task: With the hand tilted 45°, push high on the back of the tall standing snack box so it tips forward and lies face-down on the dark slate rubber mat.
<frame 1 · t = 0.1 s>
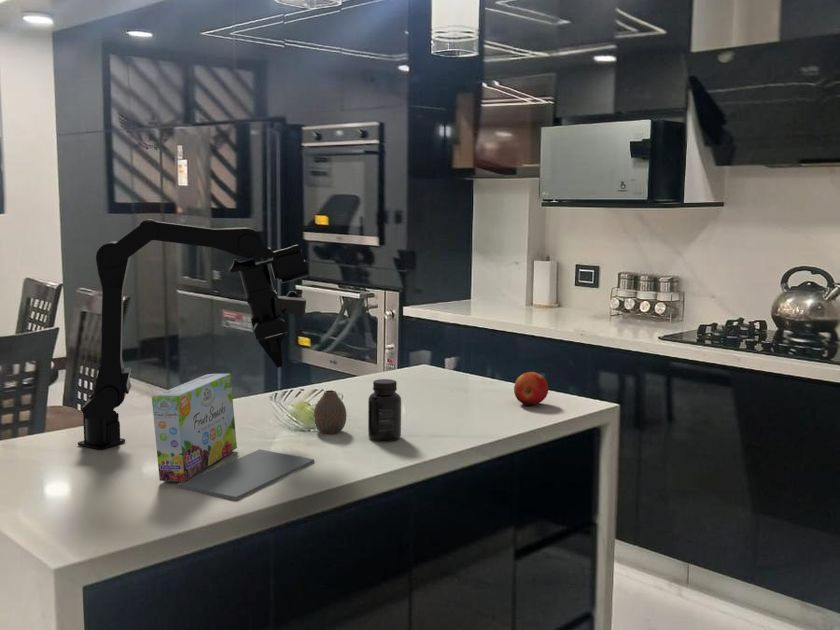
hand: (278, 362, 172), 15 cm above the counter, tool pointing down, fingers open, 9 cm apart
apple: (529, 405, 206), on the counter
vase: (329, 433, 178), on the counter
supplement bottle: (384, 438, 175), on the counter
mat: (248, 474, 150), on the counter
snack box: (201, 465, 154), on the counter, touching mat
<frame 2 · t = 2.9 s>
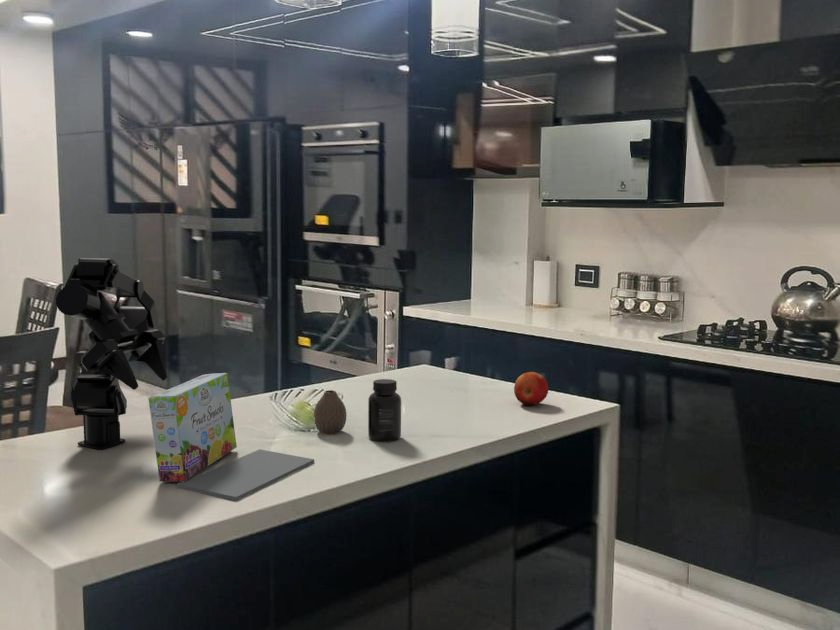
hand: (151, 383, 159), 14 cm above the counter, tool tilted 45°, fingers open, 9 cm apart
nothing on the counter moved.
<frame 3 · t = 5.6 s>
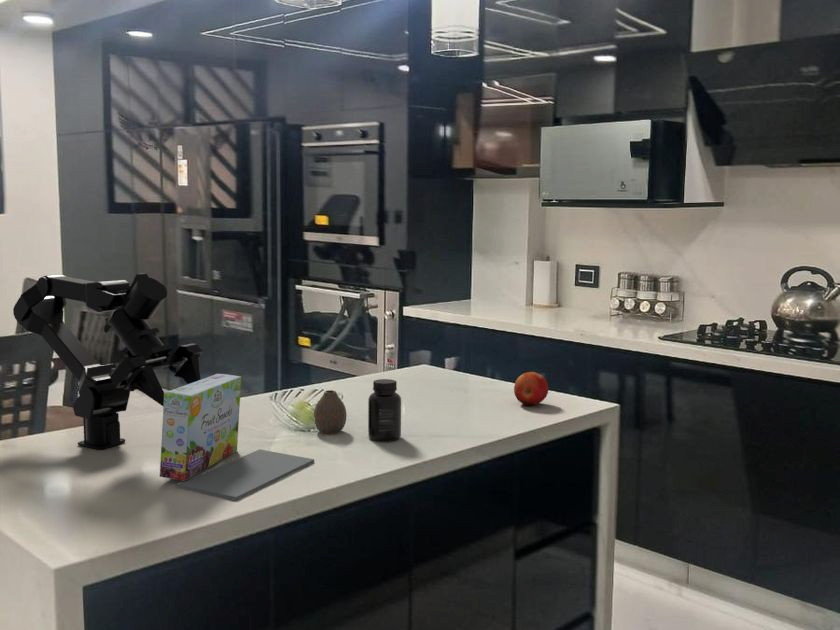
hand: (184, 399, 154), 12 cm above the counter, tool tilted 45°, fingers open, 9 cm apart
snack box: (201, 464, 154), on the counter, touching gripper, mat
everything else where it was.
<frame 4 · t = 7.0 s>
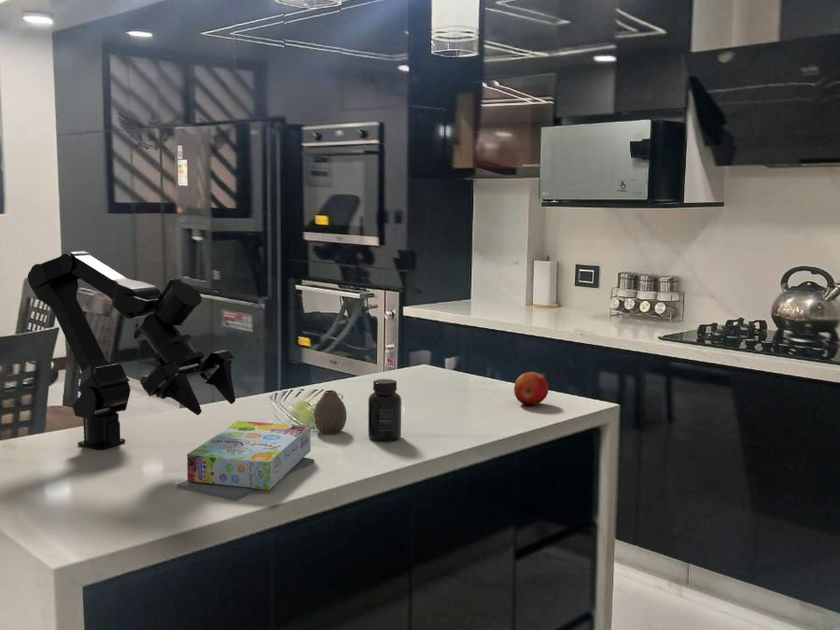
hand: (217, 408, 151), 11 cm above the counter, tool tilted 45°, fingers open, 9 cm apart
snack box: (212, 449, 153), point 3 cm above the counter, touching mat
everything else where it was.
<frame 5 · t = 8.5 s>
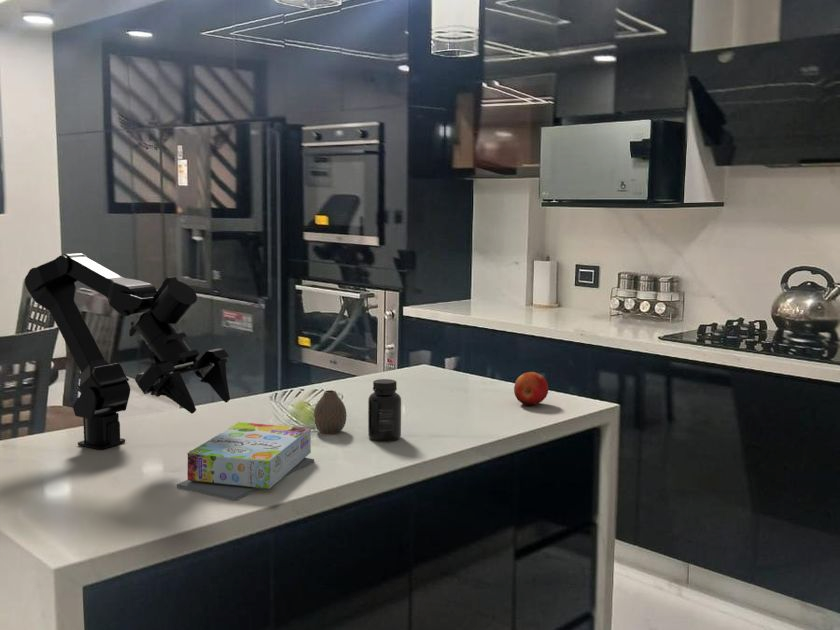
hand: (211, 406, 151), 12 cm above the counter, tool tilted 45°, fingers open, 9 cm apart
nothing on the counter moved.
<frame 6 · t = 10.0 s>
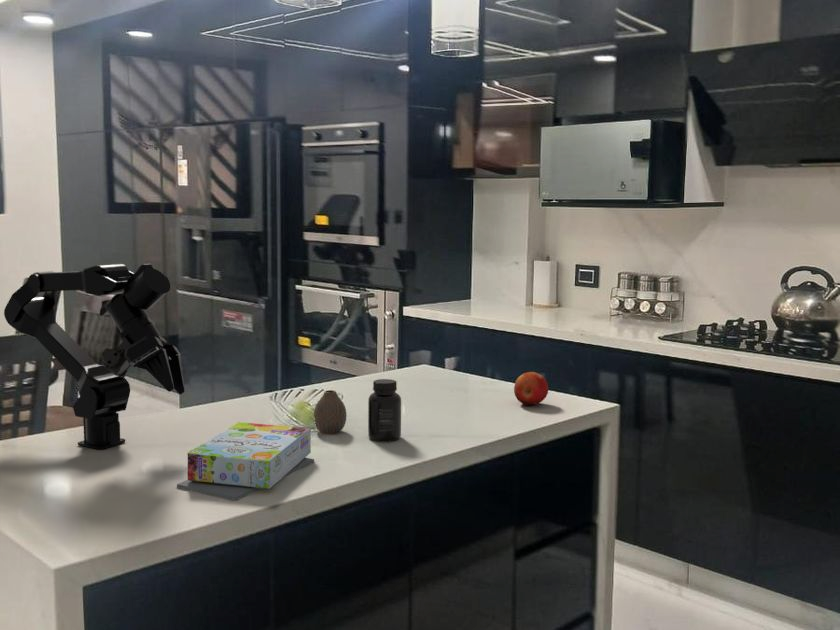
hand: (177, 392, 157), 13 cm above the counter, tool tilted 35°, fingers open, 9 cm apart
nothing on the counter moved.
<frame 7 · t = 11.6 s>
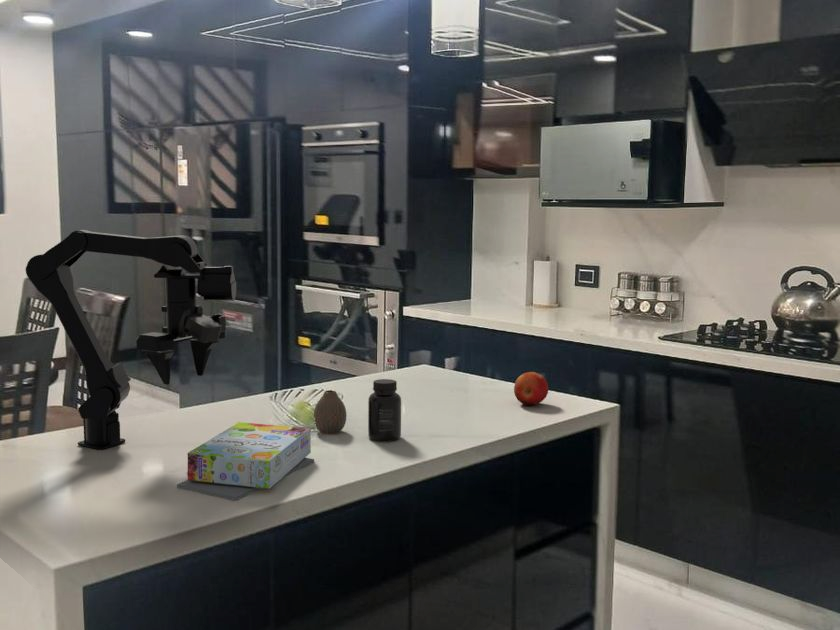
hand: (183, 379, 165), 13 cm above the counter, tool pointing down, fingers open, 9 cm apart
nothing on the counter moved.
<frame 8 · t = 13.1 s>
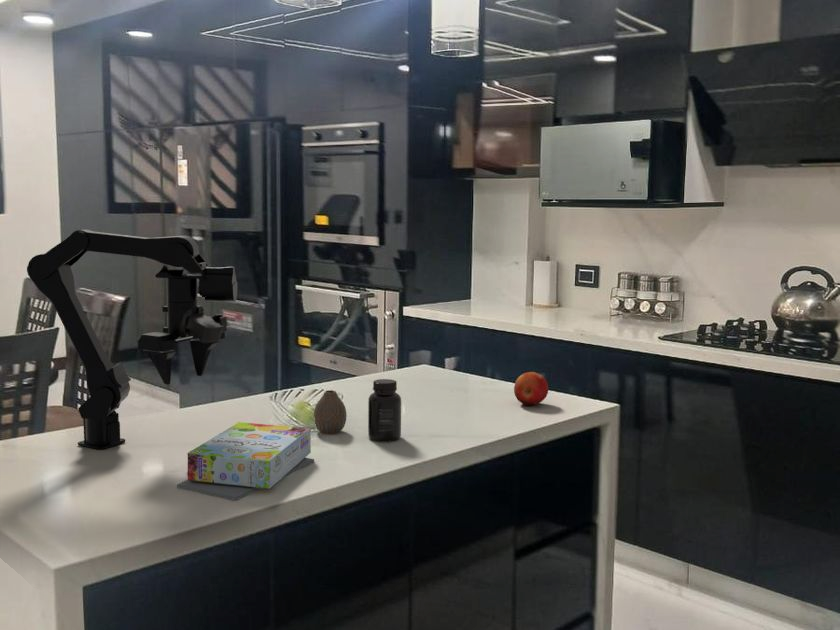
hand: (183, 379, 165), 13 cm above the counter, tool pointing down, fingers open, 9 cm apart
nothing on the counter moved.
at the end: snack box tilted 89°; snack box touching mat; snack box inside the target area (2.8 cm from its centre), point 3.2 cm above the counter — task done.
